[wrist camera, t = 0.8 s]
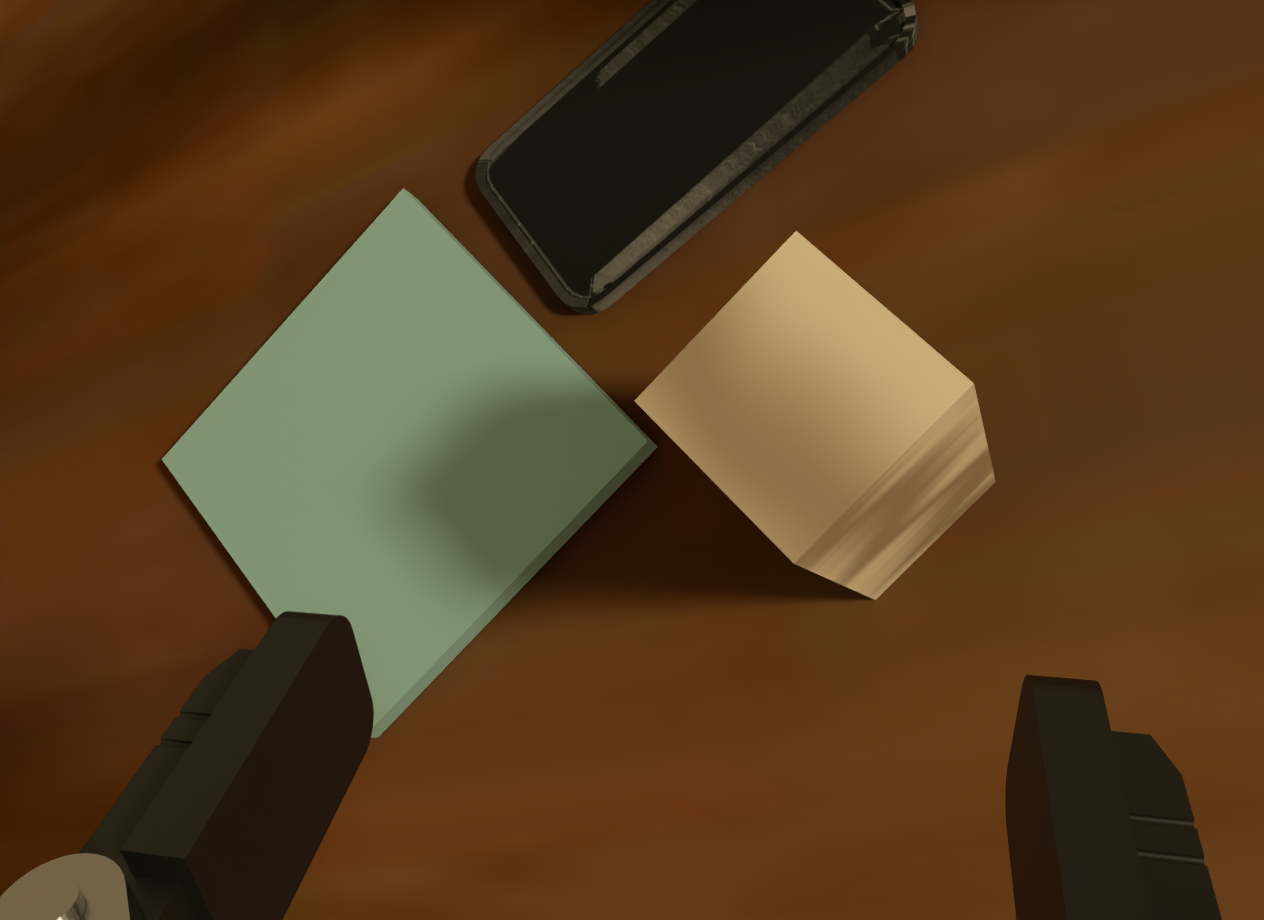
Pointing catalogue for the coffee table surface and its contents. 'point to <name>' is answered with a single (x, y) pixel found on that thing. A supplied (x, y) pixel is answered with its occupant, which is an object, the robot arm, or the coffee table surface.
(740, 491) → the birch block
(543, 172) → the phone
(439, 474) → the green square tile
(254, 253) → the coffee table surface
